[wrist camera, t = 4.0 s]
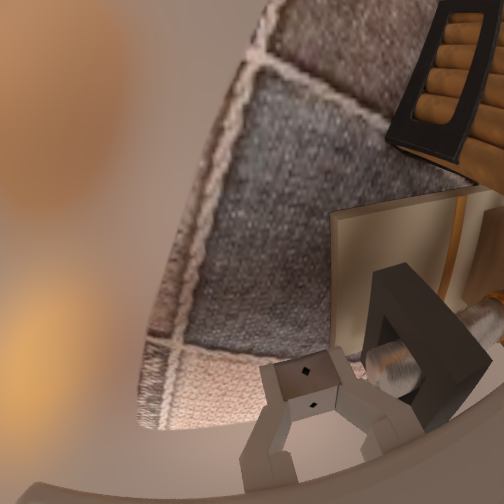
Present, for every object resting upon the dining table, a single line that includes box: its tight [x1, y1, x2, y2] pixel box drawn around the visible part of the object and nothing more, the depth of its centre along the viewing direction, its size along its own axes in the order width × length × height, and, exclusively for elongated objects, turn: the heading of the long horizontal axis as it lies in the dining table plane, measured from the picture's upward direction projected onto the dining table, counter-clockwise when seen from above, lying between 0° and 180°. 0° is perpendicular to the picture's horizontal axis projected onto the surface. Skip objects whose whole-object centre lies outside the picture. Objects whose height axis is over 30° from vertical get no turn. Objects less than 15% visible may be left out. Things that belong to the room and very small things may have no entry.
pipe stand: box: [330, 185, 504, 356], centre depth 14 cm, size 15×11×9 cm
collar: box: [360, 262, 493, 434], centre depth 12 cm, size 2×7×7 cm, turn 10°
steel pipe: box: [366, 288, 504, 398], centre depth 12 cm, size 14×3×3 cm, turn 99°
